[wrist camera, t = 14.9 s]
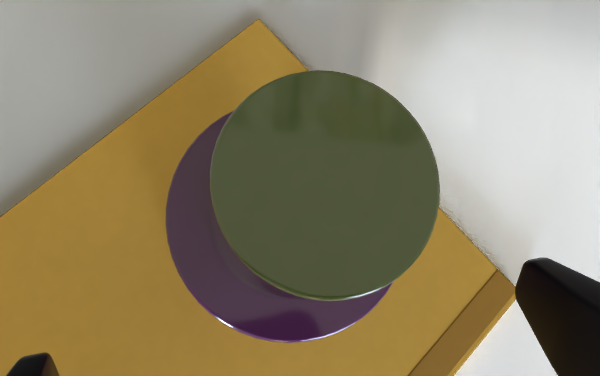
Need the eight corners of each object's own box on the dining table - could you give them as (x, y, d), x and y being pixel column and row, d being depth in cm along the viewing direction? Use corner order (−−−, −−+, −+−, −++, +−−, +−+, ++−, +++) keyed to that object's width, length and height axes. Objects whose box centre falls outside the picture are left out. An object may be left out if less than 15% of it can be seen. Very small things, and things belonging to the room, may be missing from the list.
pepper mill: (292, 333, 18) (457, 412, 6) (167, 297, 18) (83, 304, 6) (326, 213, 19) (519, 83, 7) (210, 175, 19) (216, -31, 7)
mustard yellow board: (141, 752, 15) (139, 765, 15) (-198, 373, 16) (-209, 375, 15) (515, 293, 21) (521, 292, 20) (257, 23, 21) (258, 17, 21)
